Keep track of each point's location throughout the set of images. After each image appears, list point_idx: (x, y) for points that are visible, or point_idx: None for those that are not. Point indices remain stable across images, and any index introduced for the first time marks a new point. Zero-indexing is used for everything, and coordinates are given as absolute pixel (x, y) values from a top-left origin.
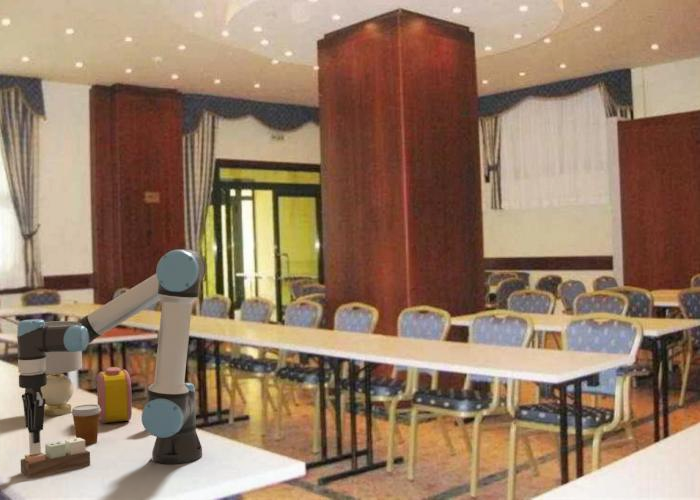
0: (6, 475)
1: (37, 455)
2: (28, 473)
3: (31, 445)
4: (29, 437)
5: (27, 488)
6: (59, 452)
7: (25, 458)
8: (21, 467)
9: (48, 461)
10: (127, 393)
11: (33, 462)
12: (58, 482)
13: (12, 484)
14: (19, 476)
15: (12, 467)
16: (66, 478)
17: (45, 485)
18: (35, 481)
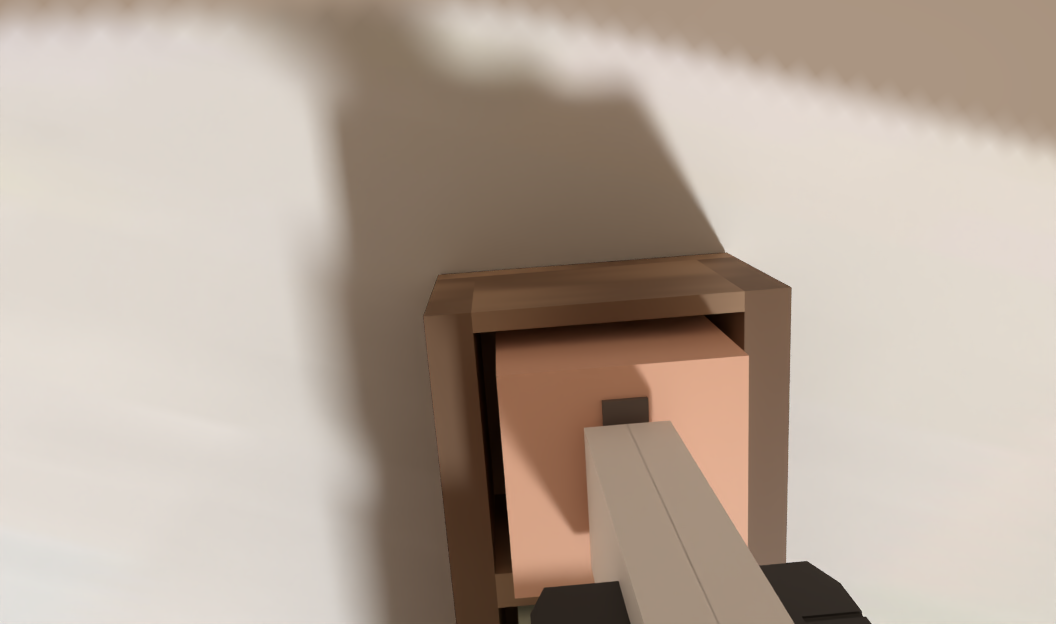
0: (754, 85)
1: (563, 502)
2: (455, 283)
3: (610, 515)
4: (744, 599)
5: (14, 149)
6: None
7: (701, 343)
8: (724, 268)
9: (453, 568)
10: None
11: (475, 393)
12: (61, 484)
13: (303, 43)
14: (596, 202)
15: (1041, 233)
16: (167, 583)
17: (22, 346)
18: (258, 298)
